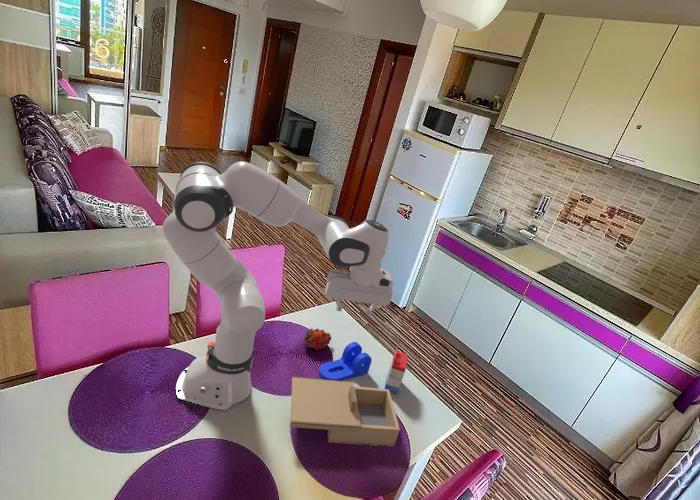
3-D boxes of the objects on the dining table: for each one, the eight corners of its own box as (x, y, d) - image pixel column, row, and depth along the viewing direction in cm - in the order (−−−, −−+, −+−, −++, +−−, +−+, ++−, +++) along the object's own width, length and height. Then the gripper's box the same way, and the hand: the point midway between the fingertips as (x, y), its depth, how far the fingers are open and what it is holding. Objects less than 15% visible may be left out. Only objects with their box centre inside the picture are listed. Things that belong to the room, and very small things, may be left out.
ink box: (397, 395, 141) (408, 362, 135) (383, 390, 141) (394, 357, 135) (399, 379, 148) (410, 347, 143) (386, 375, 149) (397, 343, 143)
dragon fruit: (298, 351, 152) (325, 350, 159) (309, 352, 146) (337, 351, 152) (299, 328, 154) (325, 328, 161) (310, 328, 147) (337, 328, 154)
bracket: (355, 359, 153) (360, 340, 150) (367, 373, 148) (373, 354, 144) (314, 370, 143) (319, 350, 139) (326, 386, 137) (331, 365, 134)
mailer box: (328, 442, 117) (333, 425, 114) (325, 400, 131) (329, 384, 128) (393, 446, 121) (399, 429, 118) (383, 405, 135) (389, 389, 132)
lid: (289, 427, 111) (293, 412, 109) (291, 381, 127) (294, 367, 125) (359, 431, 115) (364, 418, 113) (352, 386, 131) (356, 374, 129)
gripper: (330, 273, 114) (321, 313, 120) (398, 283, 118) (386, 321, 124) (328, 263, 120) (320, 302, 125) (393, 272, 124) (382, 310, 129)
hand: (353, 312), depth 125 cm, fingers open, 8 cm apart
